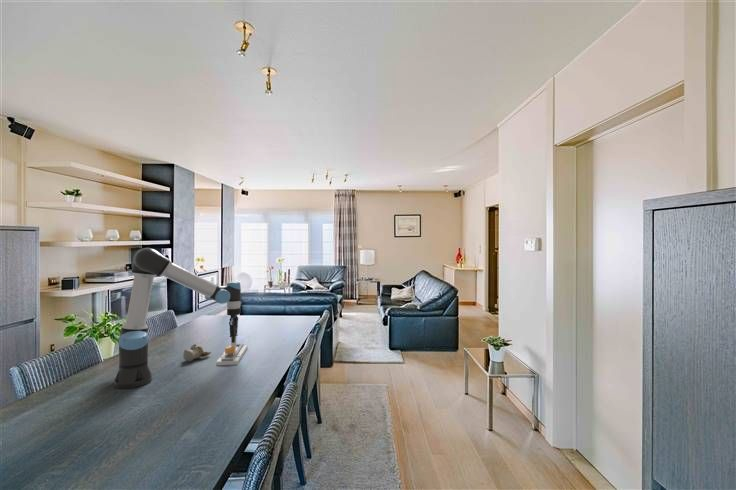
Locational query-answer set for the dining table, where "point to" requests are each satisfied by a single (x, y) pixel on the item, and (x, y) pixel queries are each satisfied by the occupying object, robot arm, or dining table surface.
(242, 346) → the console
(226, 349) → the fader
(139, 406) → the dining table surface
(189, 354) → the ceramic sculpture
